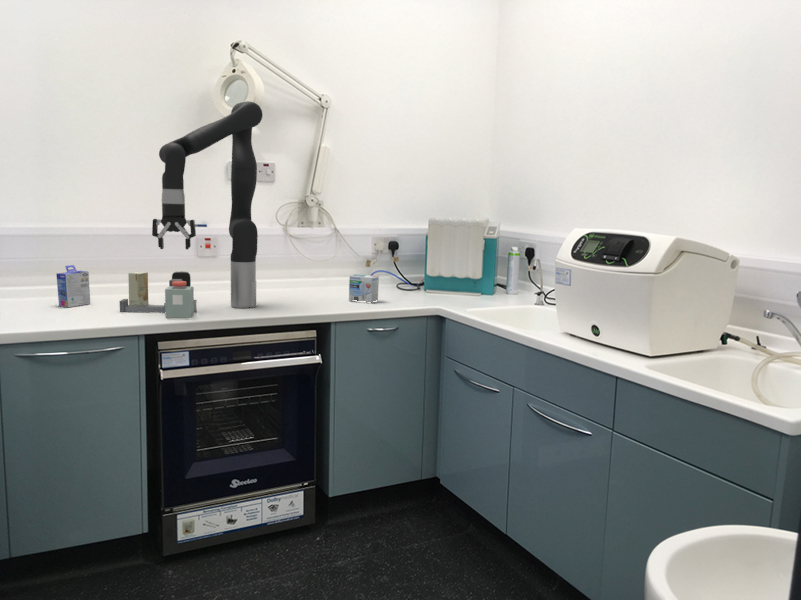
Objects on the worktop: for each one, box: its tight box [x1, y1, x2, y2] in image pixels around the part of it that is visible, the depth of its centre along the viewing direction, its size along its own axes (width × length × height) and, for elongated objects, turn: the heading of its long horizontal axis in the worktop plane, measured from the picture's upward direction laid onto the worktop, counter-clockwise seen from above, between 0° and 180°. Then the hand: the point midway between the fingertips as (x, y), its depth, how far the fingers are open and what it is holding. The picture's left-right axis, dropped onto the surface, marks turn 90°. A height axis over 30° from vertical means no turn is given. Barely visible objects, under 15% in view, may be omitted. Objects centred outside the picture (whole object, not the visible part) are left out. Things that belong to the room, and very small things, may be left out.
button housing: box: [164, 286, 195, 319], centre depth 221 cm, size 8×7×10 cm
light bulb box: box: [348, 274, 380, 302], centre depth 266 cm, size 11×7×11 cm, turn 68°
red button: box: [172, 281, 187, 289], centre depth 221 cm, size 5×5×10 cm
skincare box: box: [127, 271, 149, 305], centre depth 240 cm, size 6×4×12 cm
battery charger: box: [171, 270, 192, 287], centre depth 253 cm, size 7×4×11 cm, turn 109°
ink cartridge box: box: [55, 264, 91, 308], centre depth 235 cm, size 10×6×14 cm, turn 155°
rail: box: [119, 298, 197, 314], centre depth 229 cm, size 25×5×4 cm, turn 98°
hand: (174, 249), depth 227 cm, fingers open, 8 cm apart
